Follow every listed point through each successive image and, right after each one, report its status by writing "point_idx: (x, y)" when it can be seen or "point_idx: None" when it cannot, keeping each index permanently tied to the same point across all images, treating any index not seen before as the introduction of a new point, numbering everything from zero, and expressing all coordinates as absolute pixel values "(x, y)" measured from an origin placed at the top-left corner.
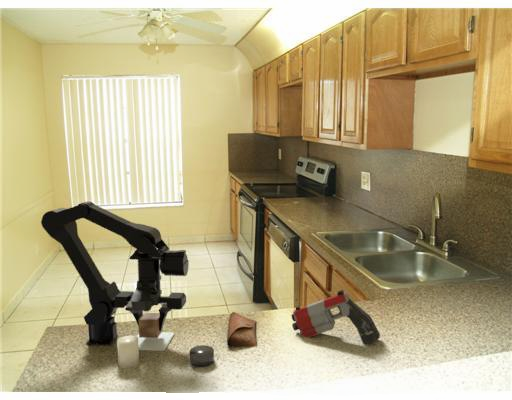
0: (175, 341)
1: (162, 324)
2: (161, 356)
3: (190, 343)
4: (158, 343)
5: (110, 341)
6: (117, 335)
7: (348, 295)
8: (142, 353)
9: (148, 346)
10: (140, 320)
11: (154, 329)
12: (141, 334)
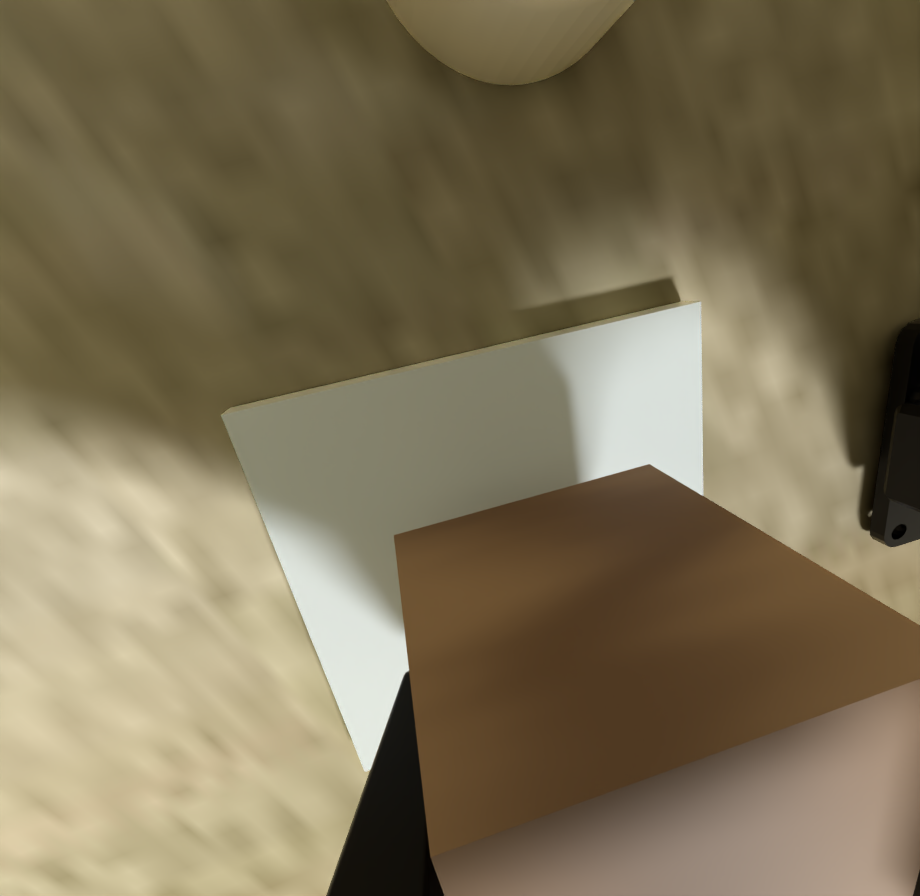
0: (258, 646)
1: (366, 792)
2: (157, 243)
3: (44, 674)
4: (387, 511)
5: (911, 378)
6: (873, 527)
7: None
8: (465, 256)
9: (462, 400)
10: (897, 654)
11: (456, 607)
12: (642, 489)
